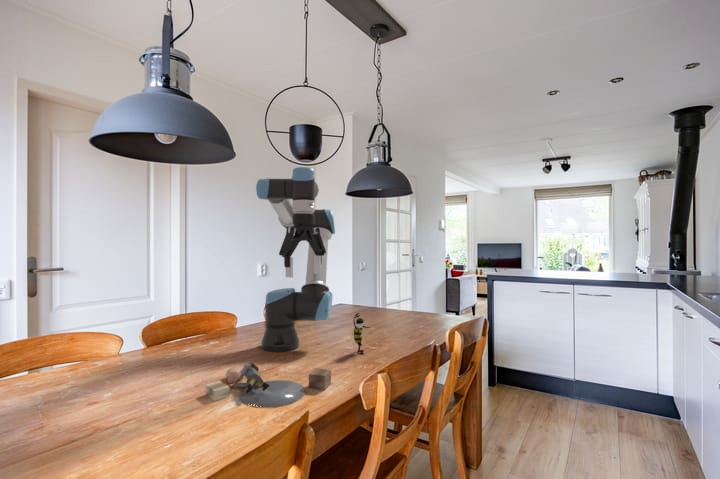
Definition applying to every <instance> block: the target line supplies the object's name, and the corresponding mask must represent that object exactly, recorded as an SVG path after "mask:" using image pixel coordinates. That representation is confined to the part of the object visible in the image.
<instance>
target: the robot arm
mask: <svg viewBox="0 0 720 479" xmlns="http://www.w3.org/2000/svg"><path fill="white" fill-rule="evenodd" d="M255 186H256V188H255V192H256V196H257V197H258V199H260V200H264V201H265V200H268V202H269V203H270V206H272V208H273V210H274V211H275V213H276V214H277V216H278V221H279V224H281V226H282V227H284V228H285V229H286V232H285V235H284V239H283V242H282V245H281V246H280V249H279V252H278V254H279V256H281V257H282V258H284V260H283V262H284V263H283V264H284V265H283V266H284V268H285V278H290V279H291V278H294V257H292V256H293V254H294V253H295V251H296V248H297V247H298V245H299V243H300V242H302V241H303V242H304V241H306V242H307V243H308V249H307V250H308V251H307V260H306V261H307V264H306V275H305V284H303V285H302V286H301V288H300V291H296V289H295V288H294V287H288V288H281V289H274V290H270V291H269V292H267V293H266V296H265V303H264V304H265V330H264V333H263V337H262V340H261V349H262V350H263V351H266V352H277V353H279V352H287V351H292V350H295V349H297V348H299V347H300V338H299V336H298V332H297V330H296V322H300V321H302V322H310V321H311V322H313V321H314V322H320V321H323V322H324V321H327V320H328V319H329V318H330V316H331V311H332V305H333V292H332V291H330V288H329V287H328V286H327V270H328V267H327V265H328V251H329V249H328V248H329V240H331V239H332V236H333V235H334V234H336V229H335V220H334V212H333V210H331V209H325V208H322V209H315V208H316V206H315V198H317V196H318V194H319V190H320V189H319V185H318V183H317V182H316V176H315V169H314V168H312V167H307V166H306V167H304V166H301V167H299V166H297V167H295V168H293V169H292V177H291V178H268V177H267V178H260V179H258V180H257V181H256V185H255ZM291 200H292V201H291Z"/></svg>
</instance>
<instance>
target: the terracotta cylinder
mask: <svg viewBox="0 0 720 479" xmlns="http://www.w3.org/2000/svg"><path fill="white" fill-rule="evenodd" d="M240 372H241V371H240V370H239V368H238V367H235V366H234V367H230V368H228V369H227V370H226V374H225V377H226V381H228V383H229V384H231V383H232V384H233V383H234V382H236V381H237V380H238V379H239V377H240V375H241V373H240ZM229 376H230V377H229ZM233 377H234V378H233ZM237 378H238V379H237ZM242 380H243V379H241V380H239V381H238V382H237V383H239V382H242Z"/></svg>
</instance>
